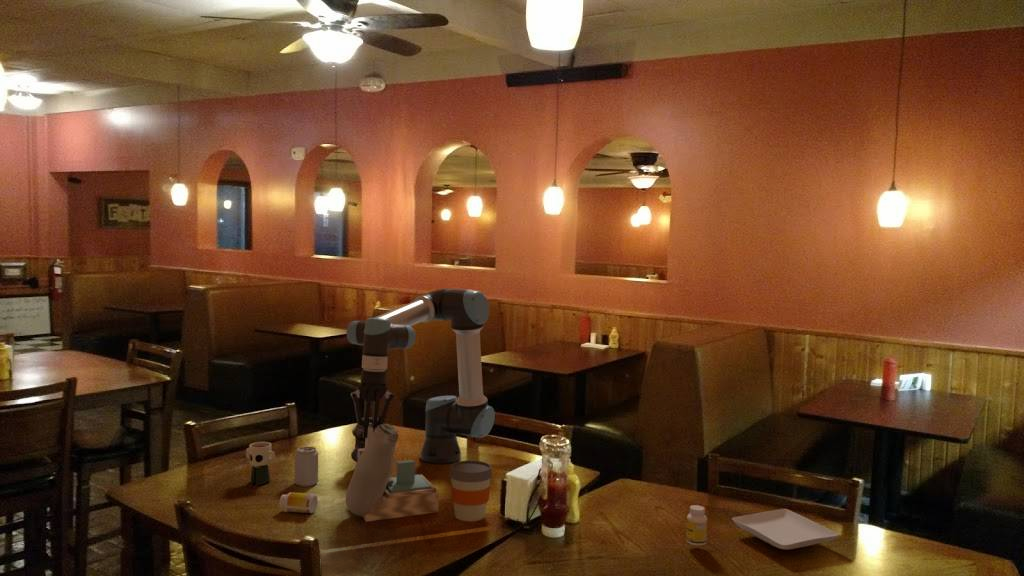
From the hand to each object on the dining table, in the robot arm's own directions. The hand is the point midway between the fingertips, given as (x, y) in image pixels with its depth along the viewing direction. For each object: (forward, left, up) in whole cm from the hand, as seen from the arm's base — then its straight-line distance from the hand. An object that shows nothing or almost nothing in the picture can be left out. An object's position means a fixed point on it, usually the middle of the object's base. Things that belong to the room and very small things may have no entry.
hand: (368, 448), depth 221 cm
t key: (-2, -1, -13) cm, 13 cm away
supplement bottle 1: (+15, -5, -17) cm, 23 cm away
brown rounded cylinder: (+4, +3, -18) cm, 19 cm away
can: (+13, -32, -20) cm, 40 cm away
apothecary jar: (-9, -40, -20) cm, 45 cm away
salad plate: (-107, +58, -20) cm, 123 cm away
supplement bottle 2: (-80, +53, -20) cm, 98 cm away
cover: (-12, -1, -13) cm, 18 cm away
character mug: (+27, -38, -20) cm, 50 cm away
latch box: (-9, -1, -19) cm, 21 cm away
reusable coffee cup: (-28, +13, -20) cm, 37 cm away
